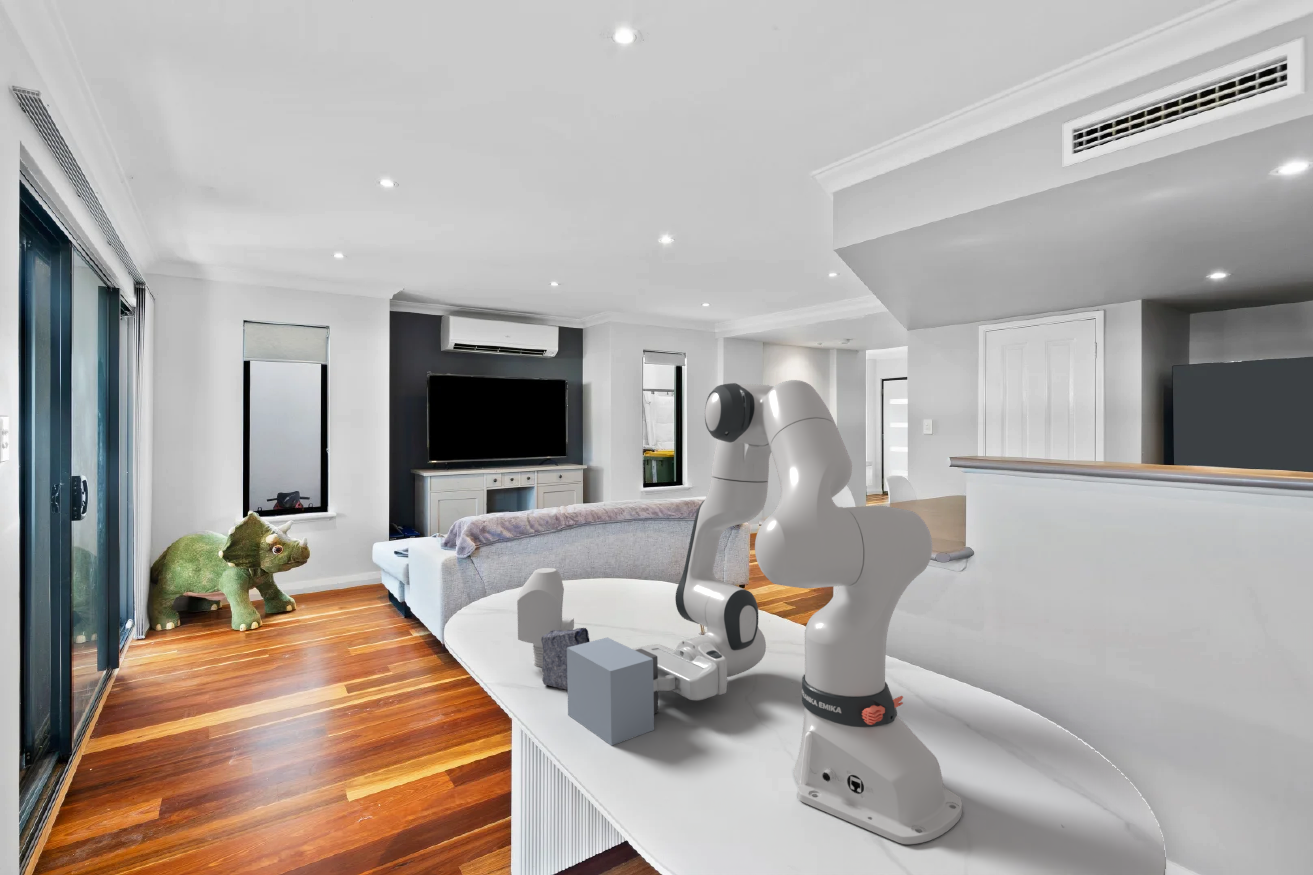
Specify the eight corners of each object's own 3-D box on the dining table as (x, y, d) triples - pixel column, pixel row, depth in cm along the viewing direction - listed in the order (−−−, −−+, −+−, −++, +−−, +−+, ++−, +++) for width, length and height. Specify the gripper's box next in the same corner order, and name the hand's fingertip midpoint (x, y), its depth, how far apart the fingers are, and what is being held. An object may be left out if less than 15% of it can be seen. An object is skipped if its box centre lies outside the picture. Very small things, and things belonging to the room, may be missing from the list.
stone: (602, 686, 131) (584, 690, 122) (556, 691, 133) (536, 696, 124) (596, 625, 135) (578, 624, 126) (552, 631, 137) (531, 631, 128)
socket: (655, 729, 109) (654, 658, 109) (611, 745, 104) (610, 671, 103) (609, 701, 120) (608, 636, 120) (568, 714, 115) (566, 647, 115)
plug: (658, 711, 115) (658, 655, 115) (620, 725, 110) (619, 666, 110) (642, 702, 119) (641, 648, 119) (604, 714, 114) (603, 658, 114)
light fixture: (561, 671, 135) (559, 575, 134) (518, 669, 136) (516, 574, 136) (574, 655, 144) (572, 565, 144) (534, 653, 146) (532, 564, 145)
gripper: (661, 632, 132) (604, 647, 123) (732, 660, 115) (671, 680, 107) (662, 663, 132) (604, 680, 123) (732, 696, 116) (671, 718, 107)
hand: (636, 680), depth 115 cm, fingers closed on plug, 5 cm apart
